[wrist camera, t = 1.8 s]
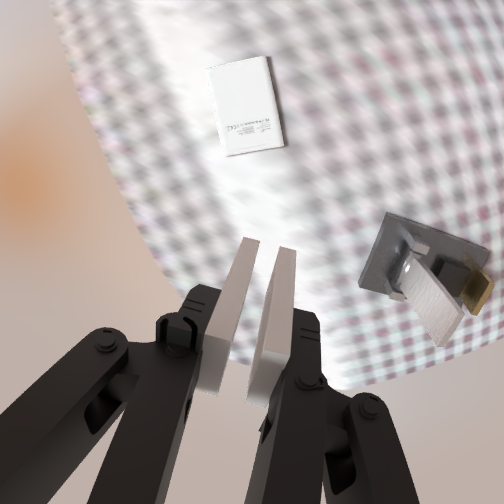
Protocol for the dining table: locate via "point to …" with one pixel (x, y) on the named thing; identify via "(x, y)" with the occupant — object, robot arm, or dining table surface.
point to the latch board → (427, 262)
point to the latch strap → (429, 299)
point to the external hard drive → (244, 106)
